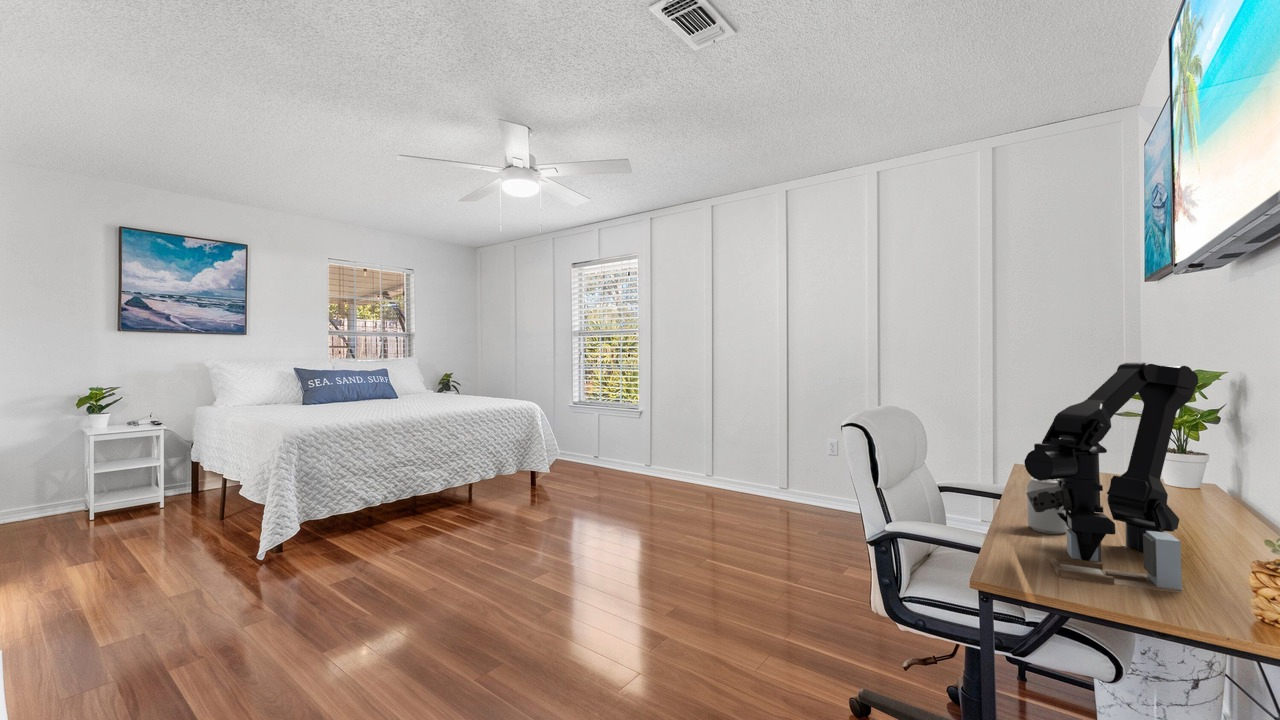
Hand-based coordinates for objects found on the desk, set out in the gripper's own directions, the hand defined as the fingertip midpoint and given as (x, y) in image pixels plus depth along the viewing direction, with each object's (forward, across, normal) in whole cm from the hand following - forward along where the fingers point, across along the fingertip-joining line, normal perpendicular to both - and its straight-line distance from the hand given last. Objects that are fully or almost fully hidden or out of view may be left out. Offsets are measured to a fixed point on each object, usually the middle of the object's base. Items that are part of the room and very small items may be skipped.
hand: (1082, 557), depth 105 cm
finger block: (+1, 0, 0) cm, 1 cm away
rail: (+1, +10, +2) cm, 10 cm away
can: (+2, -23, -2) cm, 23 cm away
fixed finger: (0, +10, +9) cm, 13 cm away
